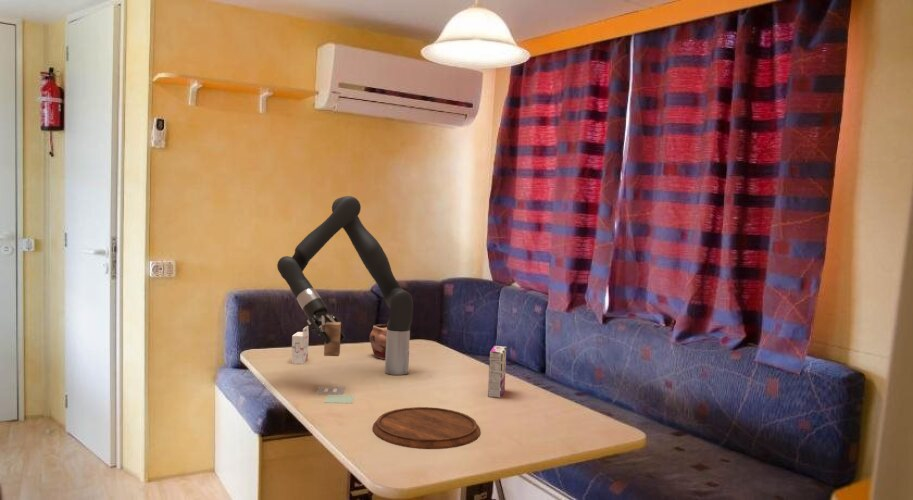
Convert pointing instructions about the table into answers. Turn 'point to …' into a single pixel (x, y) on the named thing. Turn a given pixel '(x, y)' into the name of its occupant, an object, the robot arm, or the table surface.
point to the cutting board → (426, 428)
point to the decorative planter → (379, 340)
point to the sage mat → (339, 399)
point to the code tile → (330, 390)
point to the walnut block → (332, 339)
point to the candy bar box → (497, 371)
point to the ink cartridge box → (300, 346)
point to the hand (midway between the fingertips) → (336, 340)
